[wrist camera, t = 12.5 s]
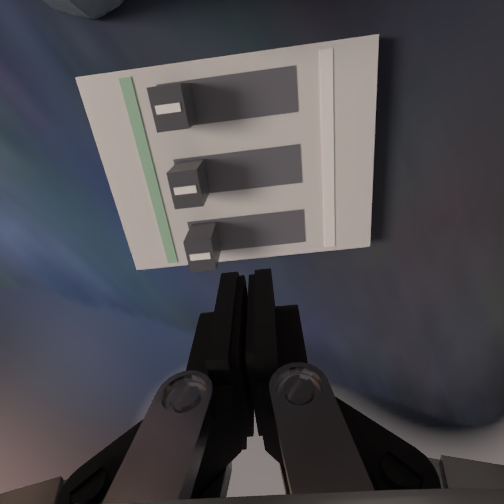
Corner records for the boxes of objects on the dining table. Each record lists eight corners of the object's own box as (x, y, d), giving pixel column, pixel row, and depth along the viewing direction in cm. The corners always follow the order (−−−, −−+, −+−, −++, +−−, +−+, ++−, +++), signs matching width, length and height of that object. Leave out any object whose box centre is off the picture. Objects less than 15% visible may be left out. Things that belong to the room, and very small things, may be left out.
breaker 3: (215, 221, 32) (210, 239, 29) (220, 249, 34) (216, 270, 30) (191, 224, 32) (182, 242, 29) (197, 252, 34) (190, 272, 30)
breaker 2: (203, 158, 29) (196, 169, 26) (209, 191, 31) (203, 206, 27) (177, 161, 30) (165, 173, 26) (184, 194, 31) (174, 209, 27)
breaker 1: (190, 82, 27) (179, 82, 23) (197, 122, 28) (188, 128, 24) (161, 86, 27) (145, 87, 23) (169, 126, 28) (156, 132, 25)
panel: (371, 37, 27) (379, 33, 25) (364, 238, 35) (370, 247, 33) (86, 77, 29) (74, 77, 27) (142, 260, 37) (136, 270, 35)
